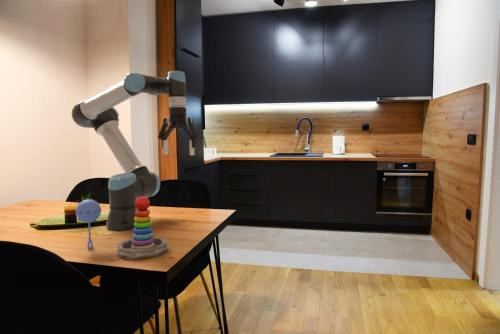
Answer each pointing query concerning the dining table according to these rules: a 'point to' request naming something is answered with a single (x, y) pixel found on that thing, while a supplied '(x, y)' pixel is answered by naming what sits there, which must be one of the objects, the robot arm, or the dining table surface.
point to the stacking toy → (142, 226)
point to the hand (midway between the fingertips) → (178, 154)
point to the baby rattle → (88, 214)
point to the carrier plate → (142, 250)
